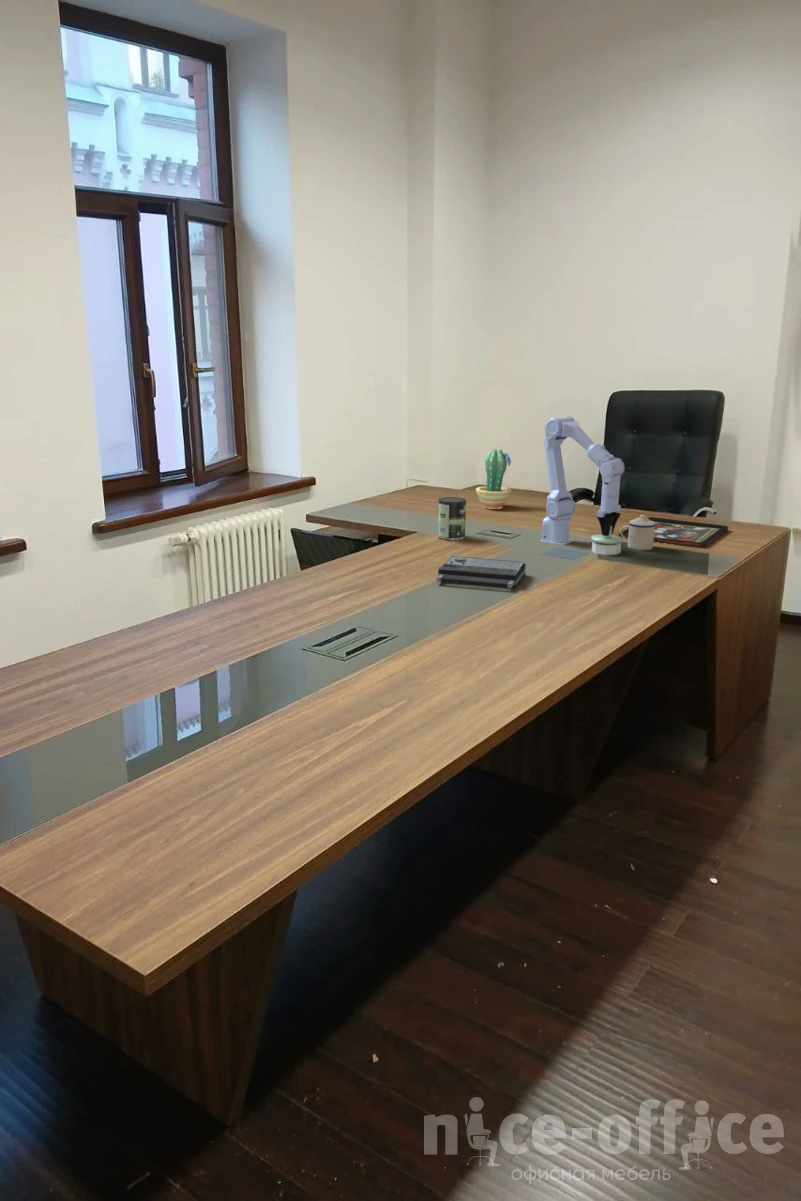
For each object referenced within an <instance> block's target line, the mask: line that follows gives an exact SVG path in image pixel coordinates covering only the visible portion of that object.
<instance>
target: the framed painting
mask: <svg viewBox="0 0 801 1201" xmlns="http://www.w3.org/2000/svg"><path fill="white" fill-rule="evenodd" d="M647 518H648V519H649V520H651V521H653V522H655V529H654V540H653V543H657V542H659V543H658V544H664V543H666V545H672V544H673V545H674V546H682V547H690V548H695V549H696V548H697V549H705V548H706V547H708V546H709V545H710V544H711V542H712V543H713V542H714V541H715V540H716V539H718V538H719V537H721V536H722V535H724V534H723V533H724V532H725V533H726V532H728V530H729V526H727V525H721V524H714V523H705V522H698V521H687V520H680V519H679V520H678V519H673V518H664V517H663V518H662V517H654V516H653V517H652V516H649V517H647ZM623 534H624V536H625V537H628V534H629V528H626V529H623ZM721 534H722V535H721ZM720 535H721V536H720ZM617 536H619V537H622V536H621V534H620V532H619V533H618V535H617ZM622 538H623V537H622ZM623 539H624V538H623ZM707 545H708V546H707Z"/></svg>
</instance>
